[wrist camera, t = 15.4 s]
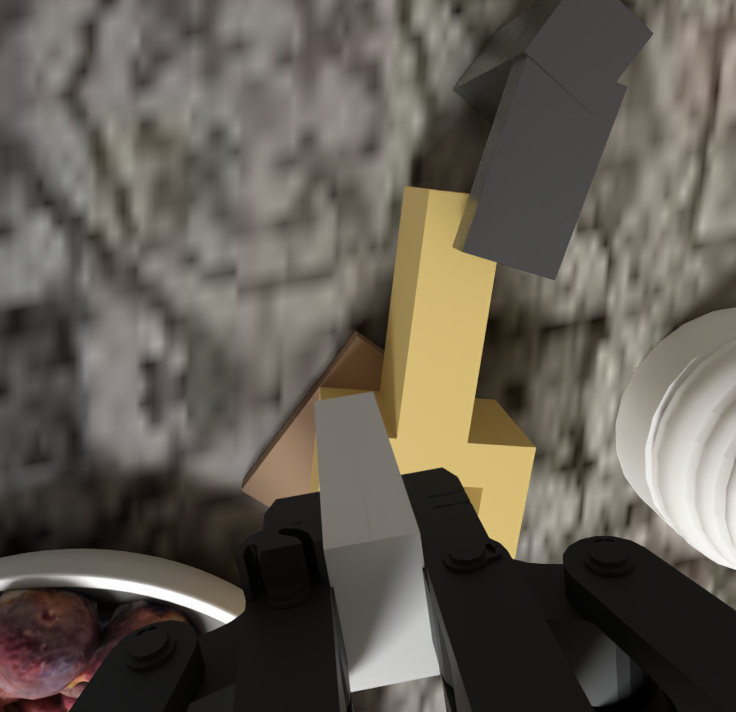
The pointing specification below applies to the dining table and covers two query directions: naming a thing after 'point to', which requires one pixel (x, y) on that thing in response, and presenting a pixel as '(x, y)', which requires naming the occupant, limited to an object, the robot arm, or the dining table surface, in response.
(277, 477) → the pintle stand
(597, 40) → the keeper
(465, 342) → the link
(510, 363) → the dining table surface
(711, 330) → the honey pot
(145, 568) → the bowl
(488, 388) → the dining table surface
